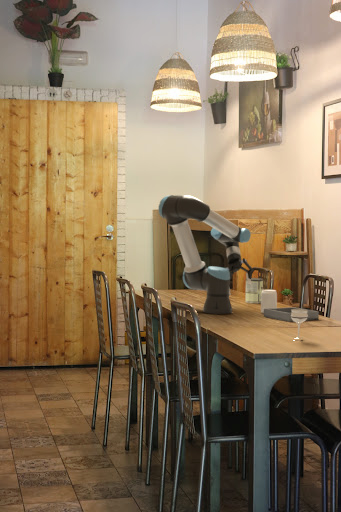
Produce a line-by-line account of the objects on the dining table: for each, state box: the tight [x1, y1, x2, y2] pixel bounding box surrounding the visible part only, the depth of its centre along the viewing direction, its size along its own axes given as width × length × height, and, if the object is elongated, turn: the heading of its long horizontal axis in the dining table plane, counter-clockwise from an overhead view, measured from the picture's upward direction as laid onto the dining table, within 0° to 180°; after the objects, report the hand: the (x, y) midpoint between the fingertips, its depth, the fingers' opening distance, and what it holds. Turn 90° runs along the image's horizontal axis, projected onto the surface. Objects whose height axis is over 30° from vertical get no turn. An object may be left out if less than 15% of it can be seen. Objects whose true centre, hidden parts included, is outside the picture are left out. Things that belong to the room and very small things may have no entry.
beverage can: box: [260, 289, 278, 314], centre depth 372 cm, size 8×8×12 cm
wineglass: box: [291, 308, 309, 339], centre depth 287 cm, size 7×7×12 cm
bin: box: [263, 306, 319, 323], centre depth 354 cm, size 19×19×4 cm
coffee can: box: [244, 277, 264, 304], centre depth 422 cm, size 10×10×14 cm
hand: (239, 289), depth 378 cm, fingers open, 13 cm apart
